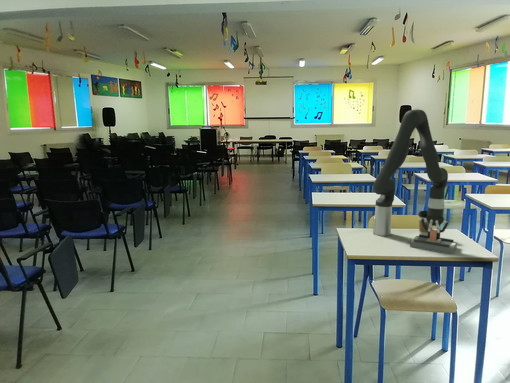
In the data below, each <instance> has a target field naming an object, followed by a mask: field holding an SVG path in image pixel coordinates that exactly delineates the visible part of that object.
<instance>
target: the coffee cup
mask: <svg viewBox="0 0 510 383" xmlns="http://www.w3.org/2000/svg"><path fill="white" fill-rule="evenodd" d="M427 214H428V210H420V211H419V213H418V215H417V216H418V233H419V234H420V235H427V236H428V231H427V230H425V229H424V227H423V224H422V222H421V219H423V218H426V217H427ZM426 224H427V227H428V228H429V222H428V221H427V220H426ZM432 229H433V226H432ZM432 229H431V230H432ZM419 234H418V235H419Z"/></svg>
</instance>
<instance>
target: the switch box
mask: <svg viewBox="0 0 510 383" xmlns="http://www.w3.org/2000/svg"><path fill="white" fill-rule="evenodd" d="M428 238H429V237H428V236H427V235H420V234H418V235H416V236H414V238H412V239H411V240H410V245H409V247H410V248H415V249H421V250H426V251H430V252H432V251H433V252H438V253H442V254H443V253H444V254H449V255H452V254H453V253H454V252H455V251H456V250H457V245H458V242H457V241H454V239H452V238H445V237H440V238H439V239H441V241H440V242H439V243H436V242H430V241H426V240H427V239H428Z"/></svg>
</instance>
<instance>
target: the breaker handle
mask: <svg viewBox="0 0 510 383" xmlns="http://www.w3.org/2000/svg"><path fill="white" fill-rule="evenodd" d="M436 236H437V229H433V228H432V230H431V231H430V238H428V239H427V240H426V241H430V242H436V243H439V242H440V241H441V239H438V240H436Z"/></svg>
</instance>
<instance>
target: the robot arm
mask: <svg viewBox="0 0 510 383" xmlns="http://www.w3.org/2000/svg"><path fill="white" fill-rule="evenodd" d="M429 124H430V123H429V119H428V114H427V113H426V112H425V110H422V109H410V110H408V111H406V112H405V114H404V115H403V117H402V120H401V123H400V126H399V129H398V132H397V134H396V136H395V139H394V141H393V143H392V146H391V147H390V150H389V152H388V153H387V154H388V155H387V157H386V158H385V161H384V163H383V165H382V168H381V170H380V172H379V173H378V174H377V176H376V178H375V180H374V182H373V186H372V188H373V192H374V193H375V194H376V195H380V196H379V197H378V198H377V199H375V209H374V210H375V212H374V217H373V224H372V226H373V228H372V229H373V230H372V234H373V233H374V235H376V236H382V237H389V236H391V233H392V220H393V219H392V216H393V215H392V214H393V213H392V212H393V202H394V200H395V194H396V184H395V181H394V179H393V178H392V176H393V175H394V174H395V172H397V170H399V169H400V168H401V167H402V165H403V164H404V163H405V160H406V158H407V157H408V154H409V151H410V140H411V136H412V134H413V133H414V130H415V129H416V131H417V134H418V135H419V136H418V137H419V140H420V141H419V142H420V144H419V146H420V153H421V156H422V158H423V161H424V163H425V168H426V173H427V178H429V180H430V181H431V182H432V185H431V187H430V188H429V194H428V195H429V196H428V200H427V202H428V204H427V211H428V214H427V217H426V218H423V219H421V222H422V224H423V227H424V229H425V230H427V231H428V237H429V238H430V231H431V229H433V227H432V226H434V227H435V228H436V230H437V236H436V240H438V239H439V238H441V233H444V232H445V231H446V229H447V228H448V226H449V224H450V221H447V220H445V217H444V211H445V193H446V192H445V191H446V187H447V183H448V179H449V173H448V170H447V169H446V168H444V167H440V165H439V164H440V161H441V160H440V158H441V157H440V156H439V154H438V150H437V148H436V147H435V146H436V145H435V143H434V140H433V137H432V132H431V129H430V125H429ZM426 220H427V221H428V222H429V228H428V227H427V224H426ZM441 224H443V227H442V228H441Z"/></svg>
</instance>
